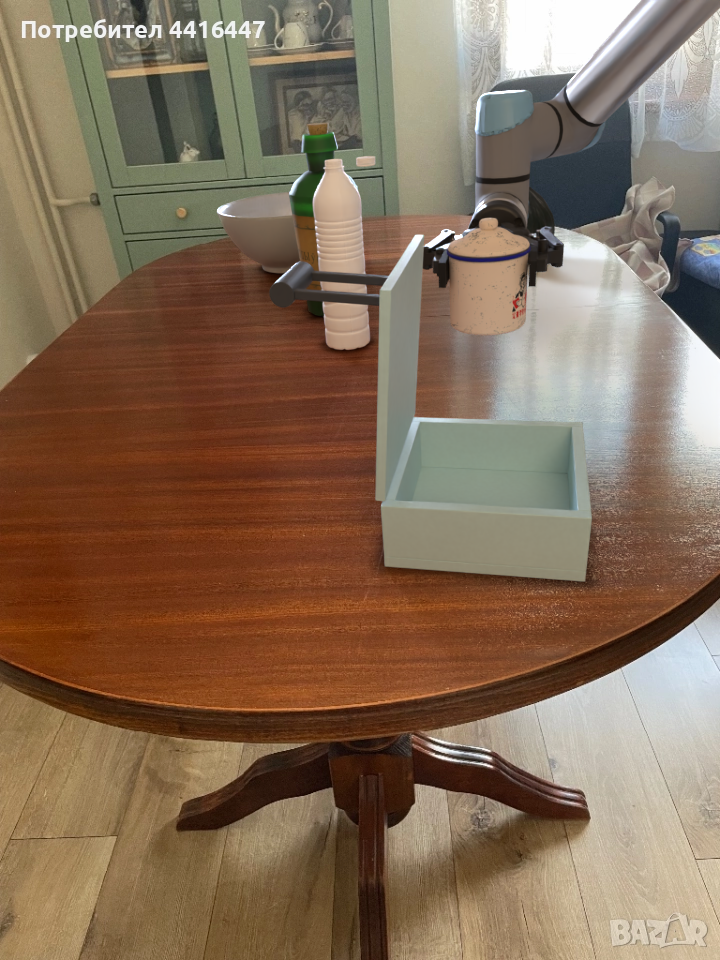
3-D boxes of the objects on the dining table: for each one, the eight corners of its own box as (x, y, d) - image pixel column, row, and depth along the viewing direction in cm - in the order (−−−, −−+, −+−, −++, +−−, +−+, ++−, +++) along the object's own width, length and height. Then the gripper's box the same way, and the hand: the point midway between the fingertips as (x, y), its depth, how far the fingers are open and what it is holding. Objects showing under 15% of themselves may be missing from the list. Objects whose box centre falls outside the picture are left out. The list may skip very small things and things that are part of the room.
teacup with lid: (531, 335, 80) (535, 225, 74) (447, 338, 81) (445, 230, 75) (522, 302, 90) (525, 203, 84) (448, 305, 91) (446, 208, 85)
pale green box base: (577, 477, 70) (582, 421, 67) (585, 581, 57) (592, 518, 54) (413, 470, 74) (411, 416, 71) (384, 566, 60) (380, 506, 57)
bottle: (299, 305, 125) (278, 124, 110) (360, 297, 126) (347, 118, 112) (306, 324, 115) (284, 130, 101) (371, 315, 117) (359, 123, 102)
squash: (491, 218, 147) (478, 167, 134) (565, 223, 141) (560, 170, 128) (472, 279, 144) (457, 233, 131) (547, 287, 138) (539, 239, 125)
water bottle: (322, 351, 105) (303, 163, 92) (331, 335, 110) (314, 156, 97) (381, 350, 103) (370, 160, 90) (388, 334, 109) (378, 153, 96)
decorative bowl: (201, 270, 150) (190, 209, 144) (303, 243, 164) (297, 186, 158) (279, 292, 132) (270, 223, 126) (385, 259, 147) (382, 196, 141)
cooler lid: (424, 234, 61) (307, 228, 63) (391, 290, 48) (243, 280, 50) (415, 413, 70) (312, 402, 72) (385, 502, 57) (260, 486, 59)
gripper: (580, 255, 97) (588, 308, 78) (418, 258, 101) (389, 309, 83) (584, 195, 93) (594, 236, 74) (416, 202, 97) (385, 241, 79)
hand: (486, 274), depth 78 cm, fingers closed on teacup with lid, 9 cm apart
